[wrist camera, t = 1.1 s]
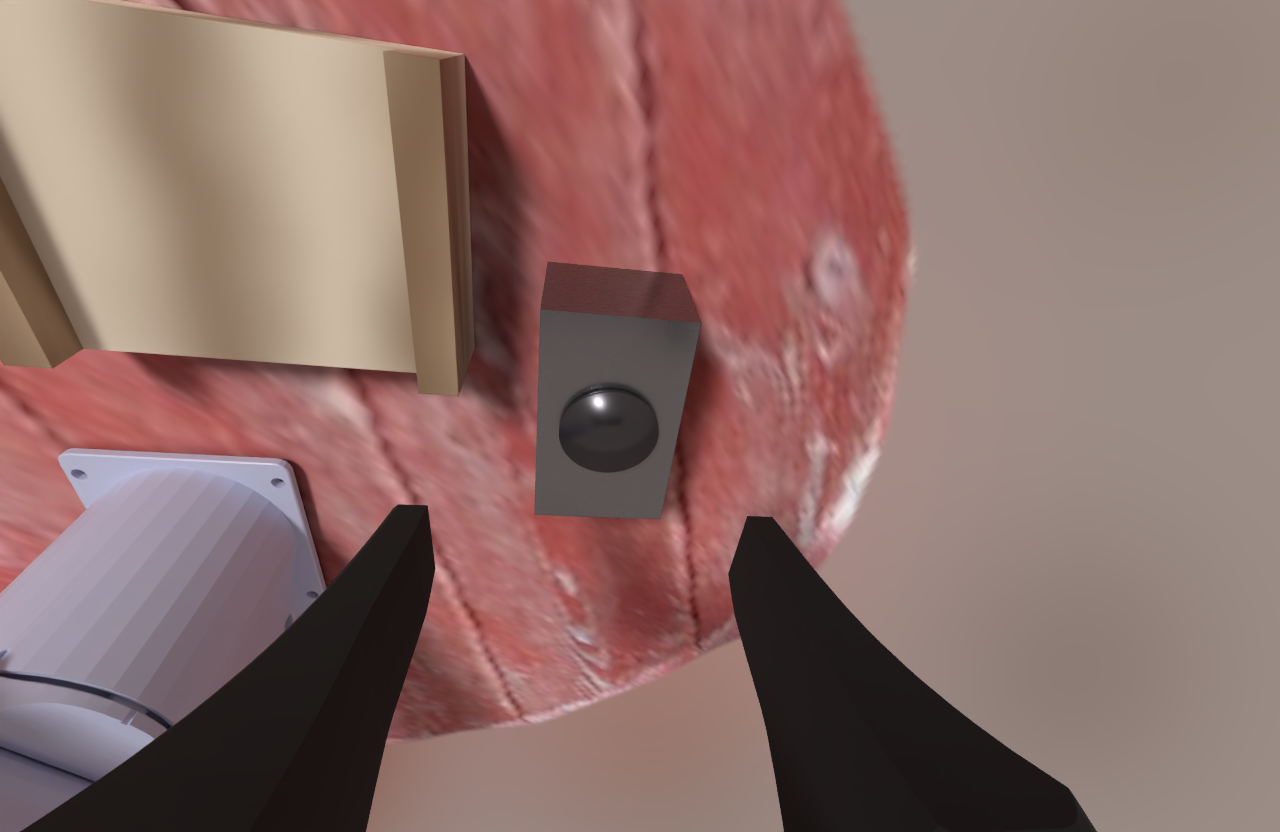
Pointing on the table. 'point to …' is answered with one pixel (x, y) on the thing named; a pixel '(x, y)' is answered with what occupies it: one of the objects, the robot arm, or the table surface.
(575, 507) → the housing
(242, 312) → the stand
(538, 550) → the table surface
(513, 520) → the table surface
